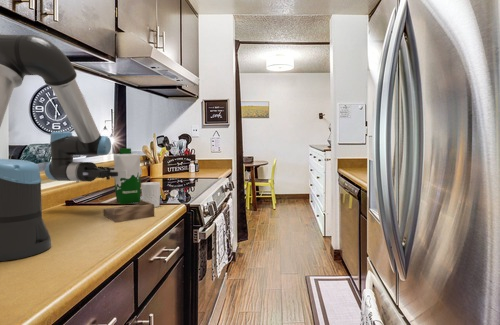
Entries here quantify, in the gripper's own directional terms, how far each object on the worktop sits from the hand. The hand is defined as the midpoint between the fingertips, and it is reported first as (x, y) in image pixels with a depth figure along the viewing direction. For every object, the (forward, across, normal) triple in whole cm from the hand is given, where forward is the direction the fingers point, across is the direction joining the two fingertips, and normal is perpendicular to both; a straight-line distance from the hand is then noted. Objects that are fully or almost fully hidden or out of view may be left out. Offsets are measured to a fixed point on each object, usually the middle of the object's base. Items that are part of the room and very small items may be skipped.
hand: (134, 172), depth 120 cm
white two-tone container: (-3, 0, -11) cm, 12 cm away
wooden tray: (-3, 0, -16) cm, 16 cm away
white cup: (-5, -18, -17) cm, 25 cm away
